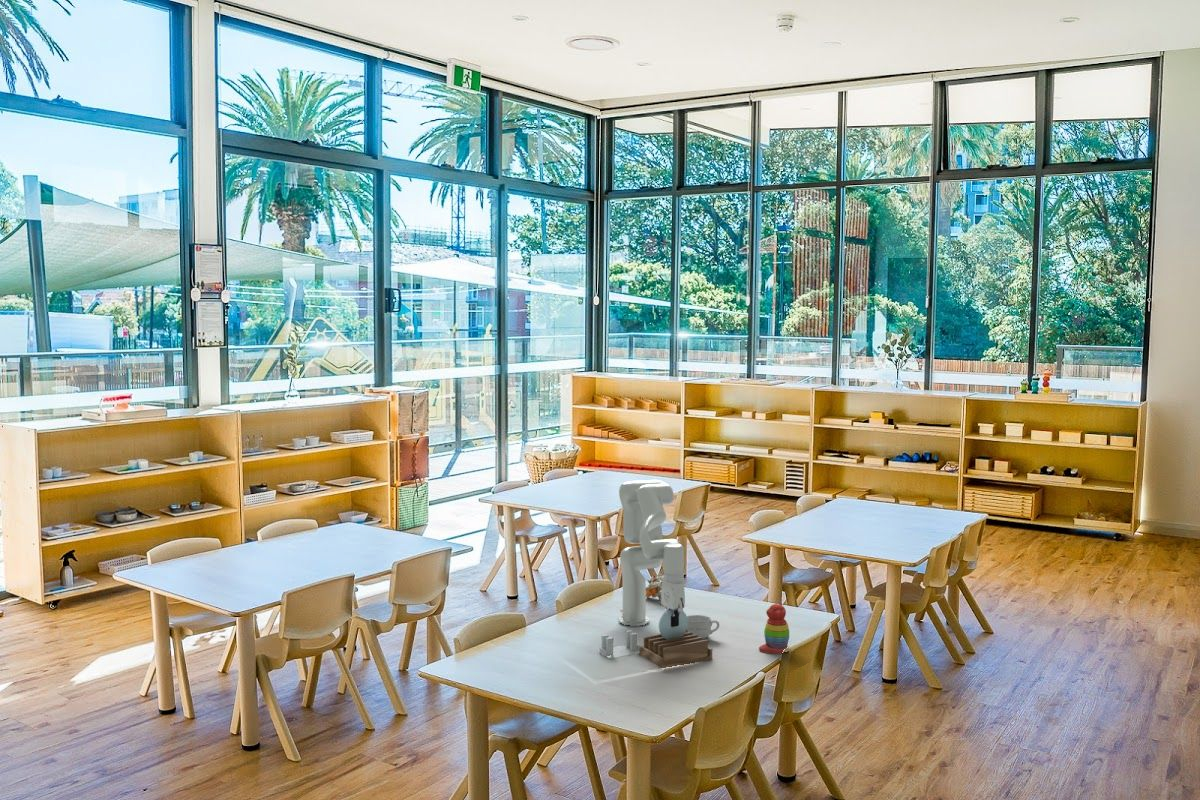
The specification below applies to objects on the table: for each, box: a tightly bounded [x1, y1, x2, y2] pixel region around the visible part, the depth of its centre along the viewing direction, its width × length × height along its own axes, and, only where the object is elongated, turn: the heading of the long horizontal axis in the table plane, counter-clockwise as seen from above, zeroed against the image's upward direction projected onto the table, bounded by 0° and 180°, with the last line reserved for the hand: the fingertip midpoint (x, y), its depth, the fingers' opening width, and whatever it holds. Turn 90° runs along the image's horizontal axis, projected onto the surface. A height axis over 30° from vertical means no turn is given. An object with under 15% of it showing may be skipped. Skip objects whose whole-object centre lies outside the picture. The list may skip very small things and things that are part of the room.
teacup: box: [686, 614, 720, 640], centre depth 400 cm, size 14×11×8 cm
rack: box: [638, 630, 713, 668], centre depth 378 cm, size 16×22×7 cm
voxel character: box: [646, 572, 663, 605], centre depth 449 cm, size 11×10×15 cm
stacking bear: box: [758, 602, 790, 655], centre depth 386 cm, size 11×10×18 cm
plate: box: [658, 609, 688, 640], centre depth 379 cm, size 1×12×12 cm, turn 119°
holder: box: [598, 629, 641, 659], centre depth 383 cm, size 10×15×8 cm, turn 119°
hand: (673, 625), depth 379 cm, fingers closed on plate, 1 cm apart
